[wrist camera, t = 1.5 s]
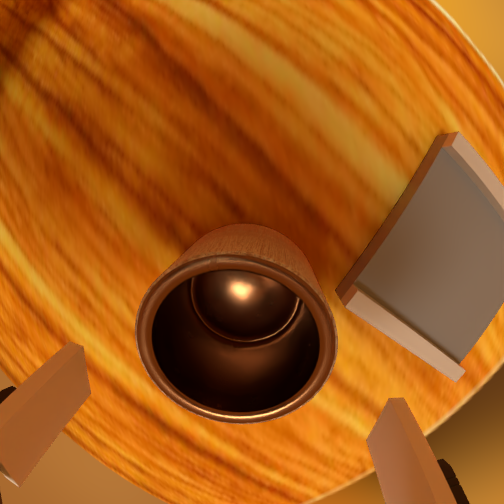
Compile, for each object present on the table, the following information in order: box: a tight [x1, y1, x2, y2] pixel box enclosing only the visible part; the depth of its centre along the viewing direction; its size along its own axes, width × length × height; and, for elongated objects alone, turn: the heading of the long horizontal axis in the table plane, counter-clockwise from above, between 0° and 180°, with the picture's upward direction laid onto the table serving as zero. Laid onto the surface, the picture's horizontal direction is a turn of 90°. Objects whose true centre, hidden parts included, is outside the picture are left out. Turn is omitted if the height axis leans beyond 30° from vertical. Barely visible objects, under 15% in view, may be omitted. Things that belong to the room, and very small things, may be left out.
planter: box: [135, 224, 338, 424], centre depth 19 cm, size 11×11×10 cm
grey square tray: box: [335, 132, 504, 382], centre depth 21 cm, size 16×16×3 cm
